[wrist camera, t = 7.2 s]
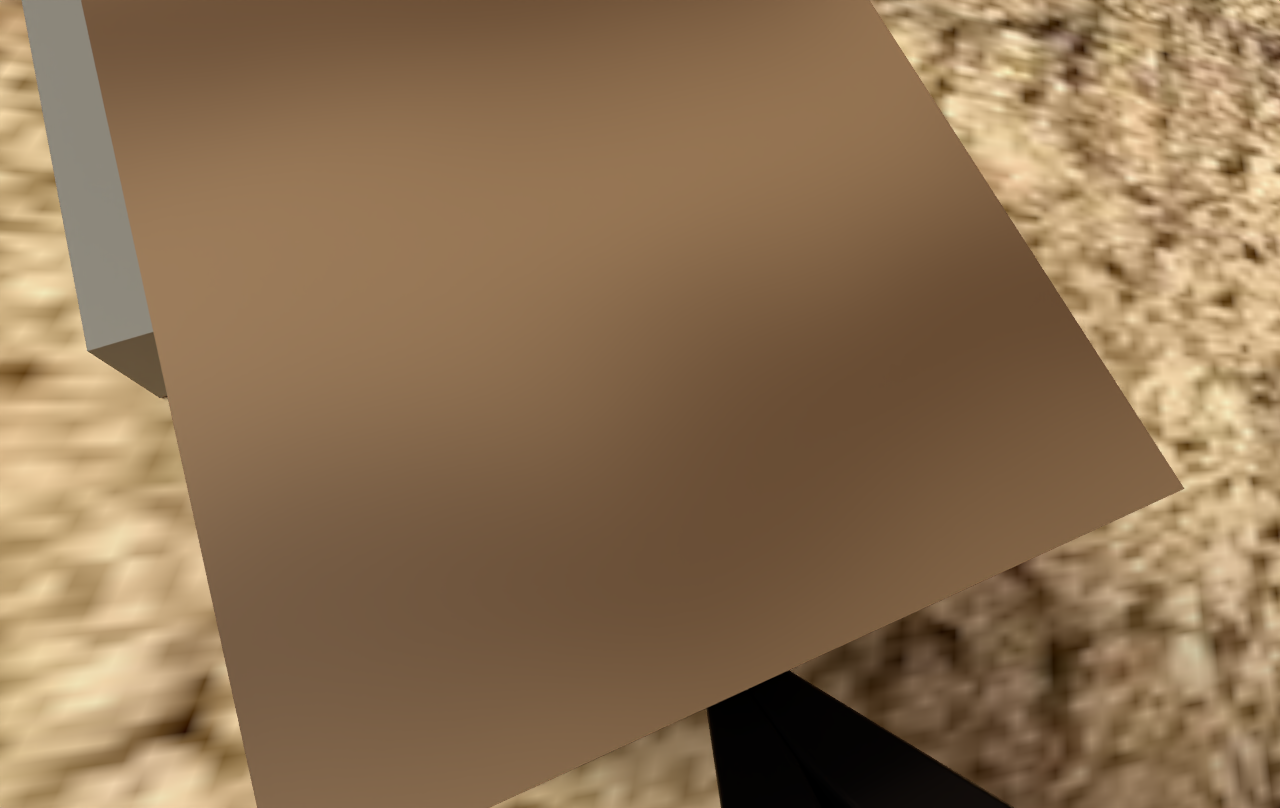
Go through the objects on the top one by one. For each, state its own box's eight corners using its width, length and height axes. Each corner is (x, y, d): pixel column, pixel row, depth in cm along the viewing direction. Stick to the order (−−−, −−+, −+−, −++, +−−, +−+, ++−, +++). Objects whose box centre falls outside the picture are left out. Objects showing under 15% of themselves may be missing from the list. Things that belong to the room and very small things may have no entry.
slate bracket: (806, 197, 19) (839, 131, 17) (159, 397, 16) (87, 350, 13) (652, -80, 22) (662, -170, 20) (82, 39, 19) (11, -51, 16)
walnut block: (857, 582, 16) (1185, 488, 7) (455, 759, 14) (278, 903, 6) (594, 41, 20) (610, -402, 12) (265, 120, 18) (7, -338, 10)
